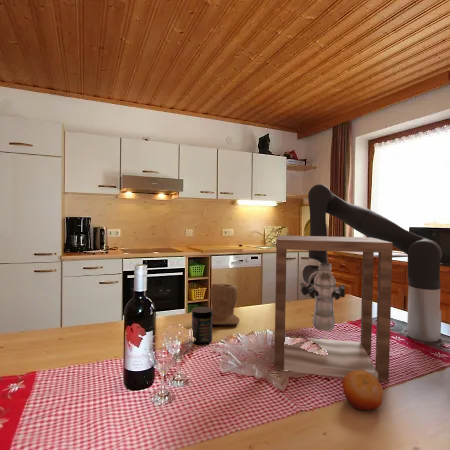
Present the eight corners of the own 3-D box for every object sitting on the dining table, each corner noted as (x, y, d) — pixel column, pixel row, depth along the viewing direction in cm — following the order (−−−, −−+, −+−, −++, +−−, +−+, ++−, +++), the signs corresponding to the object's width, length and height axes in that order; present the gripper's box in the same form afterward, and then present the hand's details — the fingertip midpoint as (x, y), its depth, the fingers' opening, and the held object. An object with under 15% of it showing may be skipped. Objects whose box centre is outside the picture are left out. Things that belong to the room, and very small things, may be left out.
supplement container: (216, 342, 103) (217, 310, 103) (200, 347, 99) (200, 314, 99) (203, 336, 108) (203, 305, 108) (187, 341, 104) (187, 309, 104)
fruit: (366, 384, 76) (376, 363, 71) (381, 419, 69) (392, 399, 65) (332, 384, 75) (340, 363, 71) (344, 419, 69) (353, 399, 64)
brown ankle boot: (238, 318, 128) (239, 280, 128) (239, 328, 116) (240, 287, 116) (200, 317, 128) (201, 280, 128) (197, 327, 116) (198, 286, 116)
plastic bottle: (332, 326, 100) (333, 262, 99) (337, 334, 93) (339, 265, 92) (310, 325, 100) (312, 261, 100) (314, 333, 94) (316, 265, 93)
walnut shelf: (277, 341, 105) (278, 235, 104) (369, 349, 99) (371, 237, 98) (274, 370, 85) (276, 239, 84) (388, 382, 80) (392, 242, 79)
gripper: (298, 271, 112) (300, 281, 95) (342, 273, 109) (351, 284, 92) (298, 293, 112) (299, 306, 95) (342, 295, 109) (351, 310, 92)
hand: (325, 295), depth 94 cm, fingers closed on plastic bottle, 6 cm apart
